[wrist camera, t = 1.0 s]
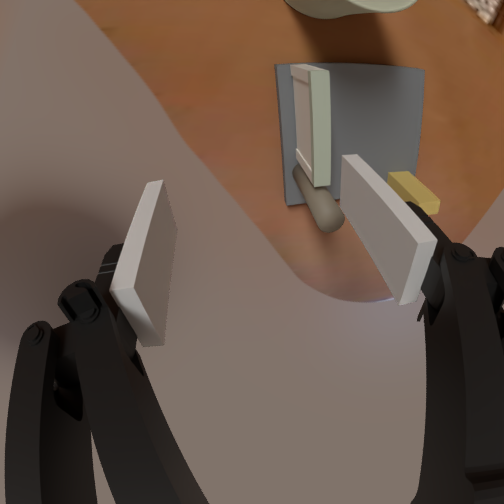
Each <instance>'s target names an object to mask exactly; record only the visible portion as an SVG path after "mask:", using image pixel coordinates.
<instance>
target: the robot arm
mask: <svg viewBox="0 0 504 504" xmlns="http://www.w3.org/2000/svg"><path fill="white" fill-rule="evenodd" d="M340 208H341V209H342V211H343V212H344V214H345V215H346V217H347V219H348V220H349V222H350V223H351V225H352V227H353V228H354V230H355V231H356V233H357V235H358V236H359V238H360V239H361V241H362V243H363V244H364V246H365V248H366V249H367V251H368V253H369V254H370V256H371V258H372V259H373V261H374V263H375V265H376V266H377V268H378V270H379V272H380V273H381V275H382V277H383V279H384V280H385V282H386V284H387V286H388V288H389V289H390V291H391V293H392V295H393V297H394V298H395V300H396V302H397V304H398V306H400V305H405V304H409V303H412V302H416V301H417V298H418V296H419V293H420V291H421V290H422V292H423V293H424V295H425V297H426V298H425V301H424V303H423V305H422V308H421V310H420V312H419V315H418V318H417V321H420V320H421V318H422V315H423V314H424V326H425V341H426V342H425V343H426V375H427V376H426V378H427V381H426V384H427V385H426V386H427V387H426V392H427V393H426V419H425V435H424V447H423V456H422V465H421V473H420V480H419V487H418V491H417V494H416V496H415V498H414V499H413V501H412V502H411V504H504V310H503V308H502V305H503V304H504V247H499V248H496V249H495V251H494V253H493V255H492V257H491V258H483V257H477V255H476V254H475V252H474V251H473V250H472V249H470V248H469V247H467V246H466V245H464V244H460V243H452V242H451V241H450V240H449V238H448V237H447V236H446V235H445V234H444V233H443V231H442V230H441V229H440V228H439V227H438V226H437V225H436V224H435V223H434V222H433V220H432V219H431V218H430V217H428V215H427V214H426V213H425V211H424V210H423V209H422V208H421V207H419V206H418V205H416V204H414V203H413V202H411V201H407V202H404V201H403V200H402V199H401V198H400V197H399V196H398V195H397V193H396V192H395V191H394V190H393V189H392V188H391V187H390V186H389V185H388V184H387V183H386V182H385V181H384V180H383V179H382V178H381V177H380V176H379V175H378V174H377V173H376V172H375V171H374V170H373V169H372V168H371V167H370V166H369V165H368V164H367V163H366V162H365V161H364V160H363V159H362V158H360V157H359V156H358V155H357V154H353V155H342V166H341V191H340ZM176 236H177V227H176V223H175V220H174V217H173V213H172V209H171V206H170V202H169V199H168V195H167V191H166V187H165V184H164V180H159V181H154V182H149V183H147V185H146V187H145V189H144V192H143V195H142V197H141V200H140V202H139V205H138V207H137V210H136V212H135V215H134V218H133V221H132V223H131V226H130V229H129V231H128V234H127V237H126V240H125V243H123V244H117V245H113V246H112V247H111V248H110V249H109V251H108V252H107V253H106V254H105V256H104V259H103V262H102V266H101V267H100V270H99V274H98V275H97V278H96V281H95V283H94V282H93V281H91V280H89V279H81V280H79V281H75V282H73V283H72V284H70V285H69V286H67V287H66V288H65V289H64V290H63V291H62V293H61V295H60V296H59V298H58V306H59V307H60V309H61V310H62V312H63V313H64V314H65V316H66V317H67V318H68V320H69V321H70V322H69V323H67V324H65V325H62V326H59V327H57V328H55V329H53V328H52V327H51V326H50V324H49V323H47V322H46V321H38V322H35V323H33V324H32V325H30V326H29V327H28V328H27V329H26V331H25V332H24V333H23V336H22V338H21V341H20V345H19V350H18V354H17V359H16V364H15V369H14V375H13V380H12V387H11V393H10V400H9V408H8V417H7V428H6V443H5V497H6V504H97V496H96V489H95V480H94V471H93V461H92V460H93V459H92V444H91V432H92V436H93V439H94V443H95V446H96V449H97V452H98V455H99V459H100V462H101V465H102V468H103V471H104V474H105V477H106V479H107V482H108V485H109V487H110V490H111V492H112V495H113V497H114V500H115V503H116V504H209V503H208V501H207V499H206V497H205V496H204V494H203V492H202V491H201V489H200V487H199V485H198V483H197V482H196V480H195V478H194V476H193V474H192V472H191V471H190V469H189V467H188V465H187V463H186V461H185V459H184V457H183V455H182V453H181V451H180V449H179V447H178V445H177V443H176V441H175V439H174V437H173V435H172V432H171V430H170V428H169V426H168V424H167V422H166V419H165V417H164V415H163V413H162V410H161V408H160V406H159V403H158V401H157V398H156V396H155V394H154V391H153V389H152V386H151V383H150V381H149V378H148V376H147V373H146V371H145V368H144V365H143V363H142V360H141V357H140V355H139V354H138V352H137V350H136V349H135V348H136V341H137V338H138V340H139V341H140V343H141V344H142V346H143V347H150V346H161V345H164V341H165V330H166V319H167V309H168V299H169V290H170V281H171V273H172V265H173V258H174V251H175V243H176Z"/></svg>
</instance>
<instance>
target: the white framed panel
mask: <svg viewBox="0 0 504 504" xmlns="http://www.w3.org/2000/svg"><path fill="white" fill-rule="evenodd" d="M290 69H291V75H292V76H293V88H294V102H295V118H296V136H297V149H296V159H297V160H298V162H299V163H300V165H301V167H302V168H303V170H304V171H305V173H306V175H307V176H308V178H309V179H310V181H311V183H312V184H313V186H314V187H319V186H327V185H330V181H331V104H330V75H329V71H328V70H325V69H321V68H318V67H314V66H311V65H307V64H294V65H290Z"/></svg>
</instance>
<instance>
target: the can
mask: <svg viewBox="0 0 504 504" xmlns="http://www.w3.org/2000/svg"><path fill="white" fill-rule="evenodd" d="M285 1H286V2H287V3H288V4H289V5H290V6H291V7H292V8H294V9H295V10H297V11H299V12H300V13H302V14H305V15H307V16H310V17H314V18H319V19H334V18H339V17H342V16H345V15H352V14H361V13H394V12H399V11H402V10H405V9H407V8H409V7H410V6H412V5H413V4H414V3H415V2H416V1H417V0H285Z"/></svg>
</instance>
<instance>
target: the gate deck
mask: <svg viewBox="0 0 504 504" xmlns="http://www.w3.org/2000/svg"><path fill="white" fill-rule="evenodd" d="M294 64H307V65H311V66H314V67H318V68H321V69H325V70H328V71H329V75H330V104H331V181H330V185H327V186H319V187H314V186H313V184H312V183H311V181H310V179H309V178H308V176H307V175H306V173H305V171H304V170H303V168H302V167H301V165H300V163H299V162H298V160H297V159H296V149H297V136H296V118H295V102H294V88H293V76H292V75H291V69H290V65H294ZM274 66H275V76H276V87H277V99H278V111H279V123H280V136H281V150H282V165H283V180H284V197H285V203H286V205H295V204H302V203H307V205H308V207H309V209H310V211H311V213H312V215H313V217H314V219H315V221H316V223H317V225H318V227H319V229H320V230H321V231H323V232H327V233H330V232H334V231H336V230H338V229H339V228H340V227H341V226H342V225H343V223H344V220H345V217H344V214H343V212H342V211H341V209H340V207H339V206H338V204H337V203H336V201H335V199H340V191H341V166H342V155H353V154H357V155H358V156H359V157H360V158H362V159H363V160H364V161H365V162H366V163H367V164H368V165H369V166H370V167H371V168H372V169H373V170H374V171H375V172H376V173H377V174H378V175H379V176H380V177H381V178H382V179H383V180H384V181H385V182H386V183H387V184H388V185H389V186H390V187H391V188H392V189H393V190H394V191H395V192H396V193H397V195H398V196H399V197H400V198H401V199H402V200H403V201H404V202H407V201H411V202H413V203H414V204H416V205H418V206H419V207H421V208H422V209H423V210H424V211H425V213H426V214H427V215H429V214H437V213H438V210H439V206H440V202H441V201H440V200H439V199H438V198H437V197H436V196H435V195H434V194H433V193H432V192H431V191H430V190H429V189H428V188H427V187H425V186H424V185H423V184H422V183H421V182H420V181H419V180H418V179H417V178H416V177H415V173H416V166H417V159H418V151H419V143H420V134H421V124H422V112H423V97H424V73H425V70H422V69H418V68H411V67H402V66H392V65H380V64H365V63H290V64H274Z"/></svg>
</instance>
